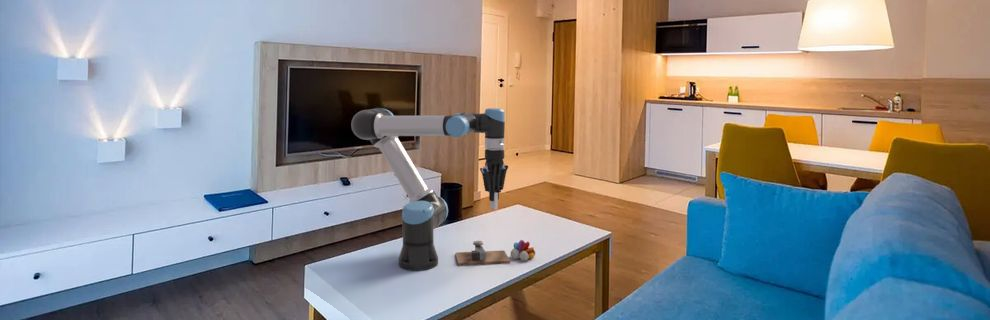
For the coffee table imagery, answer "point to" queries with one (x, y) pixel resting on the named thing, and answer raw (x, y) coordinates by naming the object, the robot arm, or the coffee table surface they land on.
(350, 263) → the coffee table surface
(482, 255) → the bar
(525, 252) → the multicolored petal toy
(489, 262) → the board
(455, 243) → the coffee table surface
